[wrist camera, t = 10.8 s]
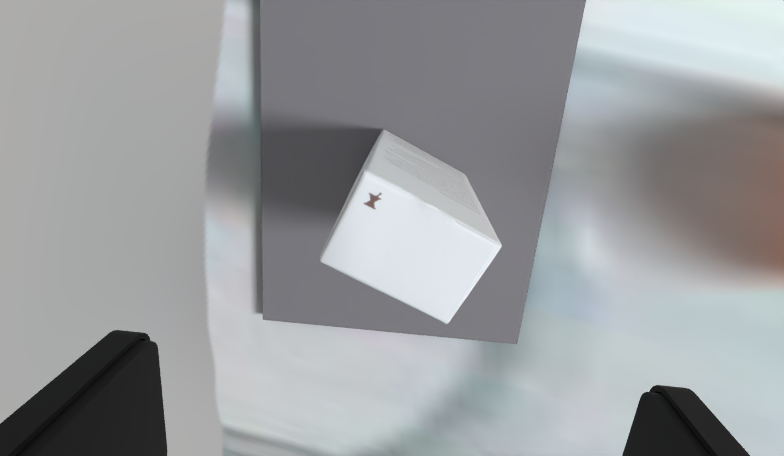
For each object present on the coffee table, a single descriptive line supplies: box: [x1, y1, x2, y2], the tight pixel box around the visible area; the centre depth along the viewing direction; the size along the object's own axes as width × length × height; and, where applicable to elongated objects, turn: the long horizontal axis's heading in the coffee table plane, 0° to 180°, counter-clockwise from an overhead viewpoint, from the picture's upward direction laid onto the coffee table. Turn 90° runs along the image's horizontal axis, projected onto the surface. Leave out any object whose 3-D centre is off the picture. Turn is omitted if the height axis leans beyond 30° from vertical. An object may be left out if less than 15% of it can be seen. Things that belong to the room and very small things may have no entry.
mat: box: [260, 0, 586, 344], centre depth 29 cm, size 22×18×1 cm
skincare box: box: [319, 129, 502, 324], centre depth 23 cm, size 6×4×12 cm
